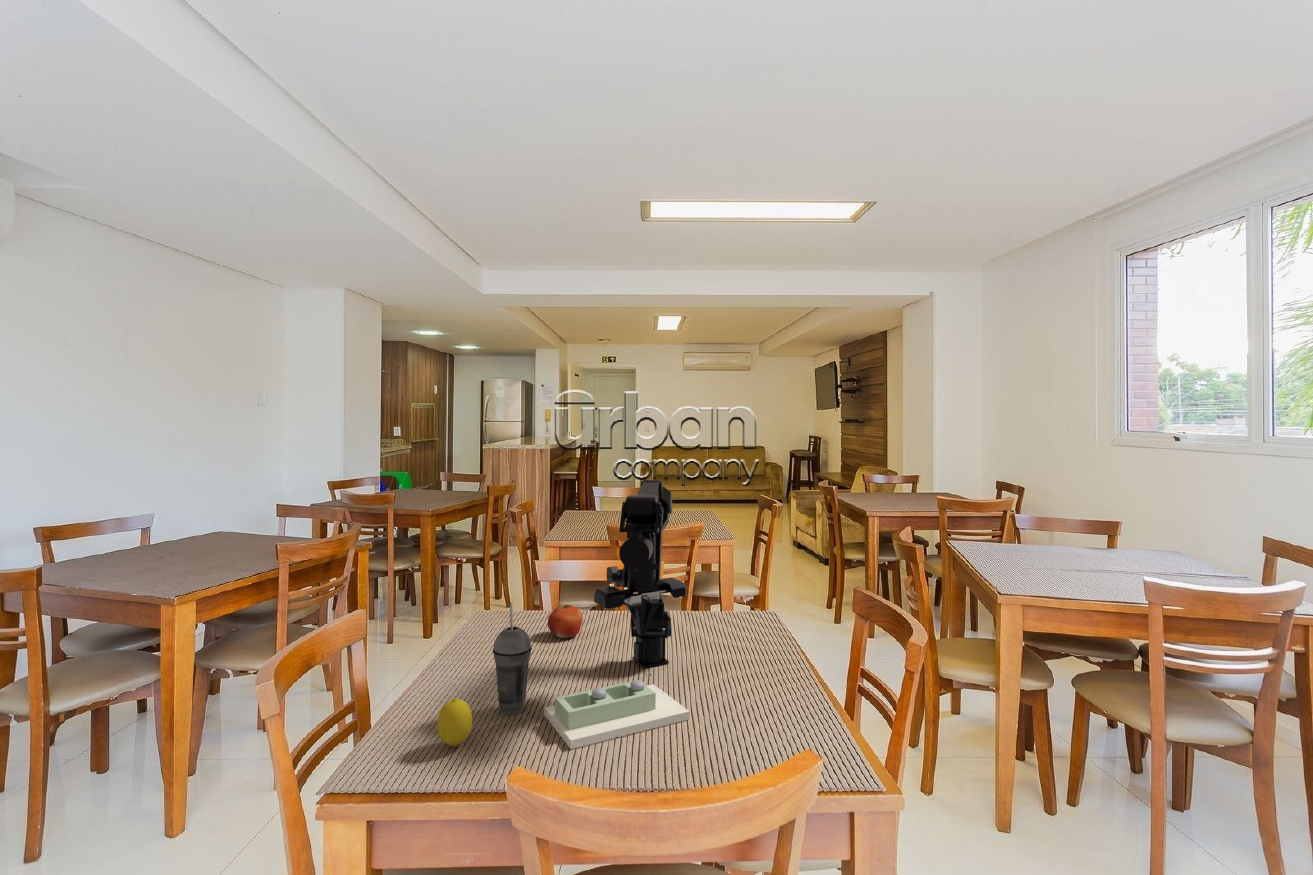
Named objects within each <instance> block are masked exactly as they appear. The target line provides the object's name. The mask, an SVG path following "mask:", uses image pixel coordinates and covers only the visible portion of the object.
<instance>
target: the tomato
mask: <svg viewBox="0 0 1313 875" xmlns="http://www.w3.org/2000/svg"><path fill="white" fill-rule="evenodd" d="M583 618H584V617H583V612H582V611H581V609H580V608H578V607H576V606H573V605H571V604H565V605H559V606H558V607H556V608H554V609H553V610H552V611H551V612H550V614H549V616H548V618H547V627H548V629H549V631H550V632H551V634H552V635H553V636H555V637H556V638H559V639H569V638H573V637H575V636H576V635H578V634H579V633H580V631H581V628H582V625H583V621H584V619H583Z"/></svg>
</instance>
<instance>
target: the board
mask: <svg viewBox="0 0 1313 875" xmlns="http://www.w3.org/2000/svg"><path fill="white" fill-rule="evenodd" d="M631 681H632V682H631V683H630V688H631V689H632V690H633V692H635V691H640V690H642V689H644V685H645V682H644V681H642V680H639V681H635V680H631ZM646 686H647V687H648V688H650V689H651V690H652V691H654V692H655V693H656V709H655V710H651V711H647V712H642V713H638V714H634V715H630V716H626V717H622V718H617V719H613V720H609V721H605V722H601V723H597V724H592V725H588V726H584V727H580V728H576V729H572V730H568V729H567V728H566V726H565V725H564V724H563V723H562V722H561V721H560V719H559V718H558V717H557V716H556V715H555V704H553V705H550V706H545V707H544V708H543V710H544V711H543V716H544V717H545V718H546V720H547V719H548V720H549V721H548V720H547V721H548V722H549V724H550V723H551V724H552V725H551V724H550V725H551V726H552V727H553V729H554V728H555V729H554V730H555V731H556V732H558V733H559V734H558V733H557V734H558V735H559V736H560V738H561V737H562V738H561V739H562V740H563V742H564V743H565V744H566V746H568V748H569V749H570V750H574V749H578V748H583V747H585V746H590V745H591V746H592V745H593V744H594V745H595V744H598V743H601V742H607V741H610V740H614V739H617V738H616V737H618V738H621V737H626V736H629V734H630V735H633V733H634V734H638V733H641V732H645V731H649V730H650V731H651V730H653V728H654V729H658V728H661V727H666V726H669V725H673V724H677V723H680V722H686V721H689V720H690V710H688V709H687V708H685V707H684V705H682V704H680V703H679V702H677V701H676V700H675V699H673V698H672V697H671V696H670V695H668V694H667V693H665V692H664V691H663V690H661V689H660V688H659V687H658V686H657V685H655V684H653V683H652V684H648V685H646ZM593 689H594V690H592V689H591V690H592V697H593V698H595V700H599V699H603V698H604V697H606V690H605V689H602V687H598V688H597V687H596V688H593ZM637 732H638V733H637Z"/></svg>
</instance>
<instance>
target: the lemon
mask: <svg viewBox="0 0 1313 875" xmlns="http://www.w3.org/2000/svg"><path fill="white" fill-rule="evenodd" d="M472 714H473V713H472V710H471V707H470V705H469V704H468V702H466V701H464V699H463V700H462V699H459V698H457V697H454V698H452V699H451V700H449V701H447V702H446V703H445V704H444V705H443V706H442V707H441V709H440V711H439V713H438V716H437V717H438V718H437V726H436V728H437V734H438V737H439V738H440V740H441V741H442V742H444V743H445V744H447V745H450V746H452V747H453V748H456V747H458V745H459V744H460V743H462V742H464V741H466V739H467V738H468V737H469V735H470V733H471V732H472V731H471V730H472V726H473V715H472Z"/></svg>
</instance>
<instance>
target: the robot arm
mask: <svg viewBox="0 0 1313 875" xmlns="http://www.w3.org/2000/svg"><path fill="white" fill-rule="evenodd" d="M672 498H673V497H672V492H671V491H670V490H669V489H667V488H666V487H665V486H664V482H663V481H662V480H660V479H644V480H641V481H640V487H639V490H638V491H637V492H636V494H629V495H628V496H626V498H625V500H624V501H622V504H621V513H620V522H619V529H618V531H619V533H626V539H625V540H624V542H623V543H622V544H621V546H620V548H619V553H618V556H619V559H620V561H621V563H622V564H623V568H622V569H619V568H618V565H614V566H613V565H612V566H608V567H606V575H605V576H606V580H607V583H608V584H612V583H614V585H615V586H611V585H609V586H605V587H604V586H603V587H598V588H596V590H595V592H594V594H593V602H594V603H595V604H596V605H598V606H600V607H602V608H604V609H608V610H609V609H611V610H612V609H615V608H621V607H622V606H623V605H624V606H626V607H627V609H628V610H629V613H630V634H631V635H630V637H631V638H635V641H634V642H633V656H632V658H631V659H632V660H633V661H634V662H636V663H637V664H638V665H640V666H641V667H642V668H645V669H646V668H651V667H655V666H660V665H661V666H662V665H665V664H667V665H668V664H669V663H670V661H669V659H667V658H666V639H668V638H669V637H672V618H671V617H670V615H669V611H667V606H666V605H667V604H666V602H665V601H664V599H663V597H662V595H663V594H669V593H670V595H671V596H672V598H673V599H674V598H683V597H686V596H687V586H686V585H685V583H684V581H682V580H679V579H677V578H674V577H667V578H661V574H662V573H661V570H662V569H661V568H662V553H663V552H662V551H663V550H662V546H663V545H662V544H663V532H664V530H665V529H666V527H667V526H668V524H669V522H670V515H672V514H673V499H672ZM619 587H622V588H626V589H619Z"/></svg>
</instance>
